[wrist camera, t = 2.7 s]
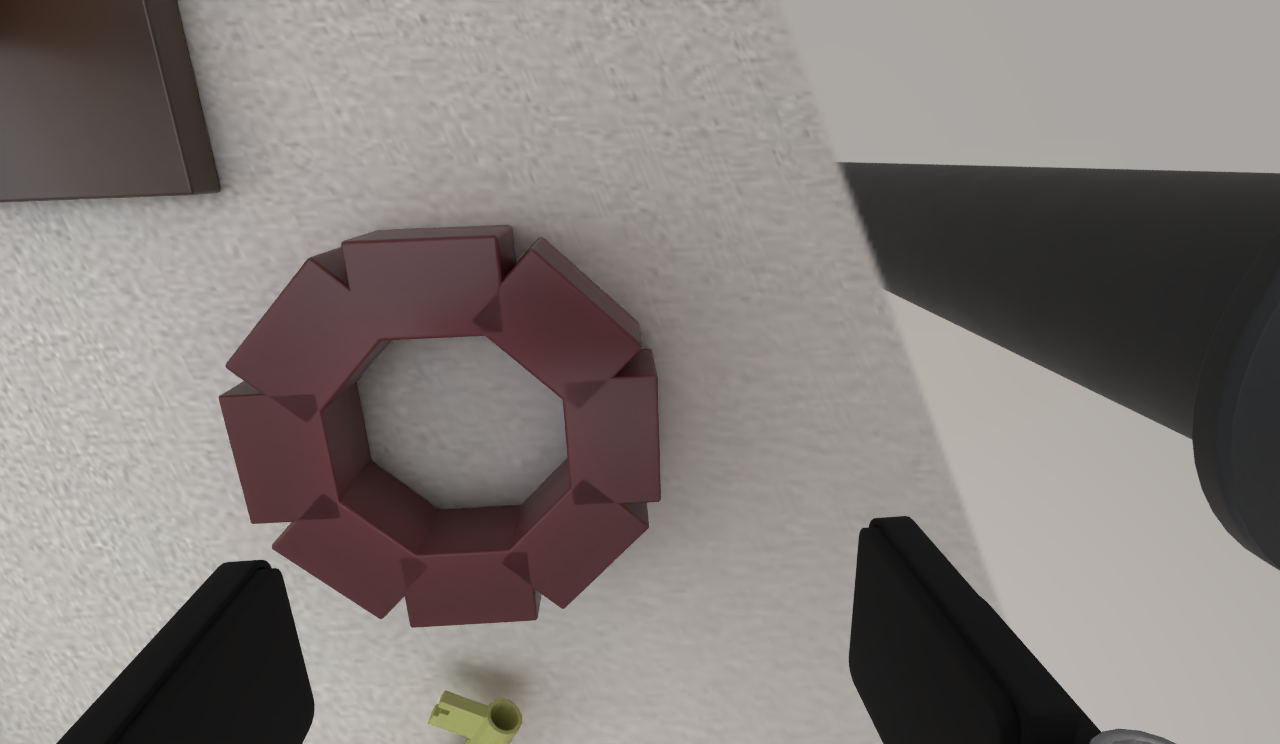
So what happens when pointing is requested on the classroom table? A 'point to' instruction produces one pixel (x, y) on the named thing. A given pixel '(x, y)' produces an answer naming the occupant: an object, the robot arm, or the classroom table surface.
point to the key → (477, 719)
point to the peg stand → (98, 102)
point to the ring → (381, 505)
